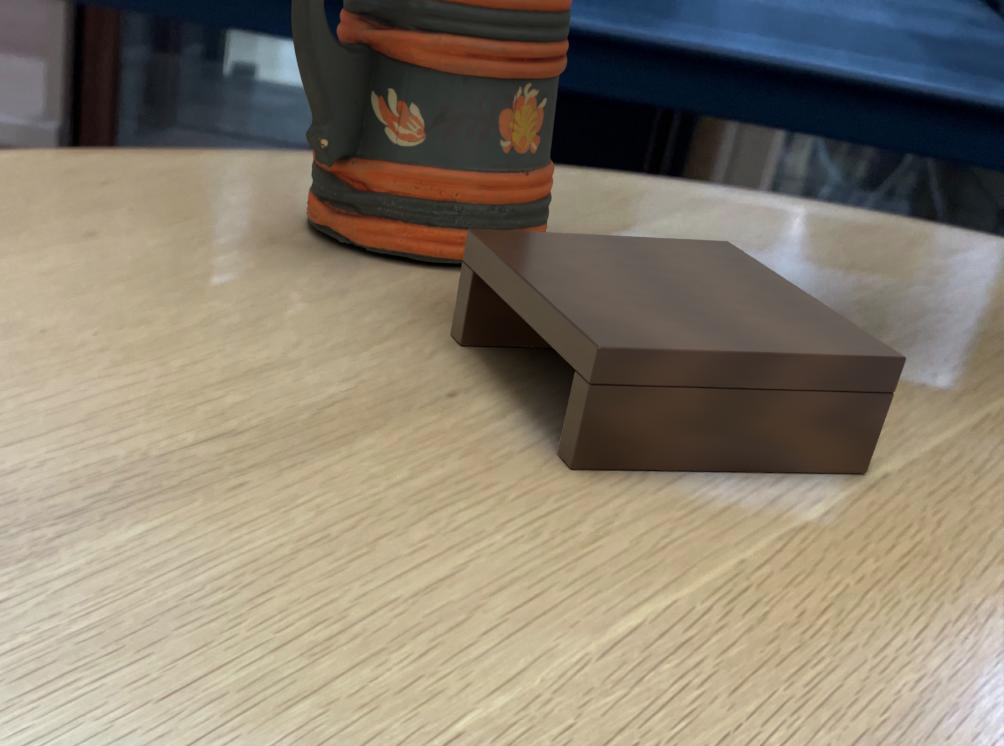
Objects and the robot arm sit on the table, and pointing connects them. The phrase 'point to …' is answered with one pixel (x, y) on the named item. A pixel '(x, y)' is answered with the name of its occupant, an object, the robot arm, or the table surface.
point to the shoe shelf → (681, 352)
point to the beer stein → (430, 119)
